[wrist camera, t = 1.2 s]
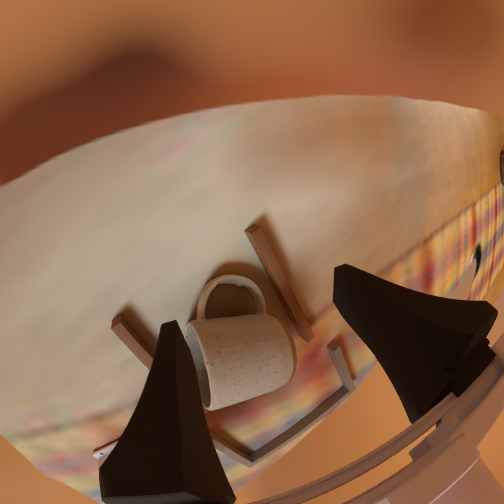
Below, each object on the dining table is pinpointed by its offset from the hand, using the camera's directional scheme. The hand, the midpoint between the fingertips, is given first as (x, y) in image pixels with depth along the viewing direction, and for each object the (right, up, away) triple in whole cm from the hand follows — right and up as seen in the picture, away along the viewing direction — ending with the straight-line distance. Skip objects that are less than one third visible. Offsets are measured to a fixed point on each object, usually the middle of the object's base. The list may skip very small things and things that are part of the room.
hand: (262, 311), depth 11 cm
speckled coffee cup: (-3, -4, +14) cm, 15 cm away
